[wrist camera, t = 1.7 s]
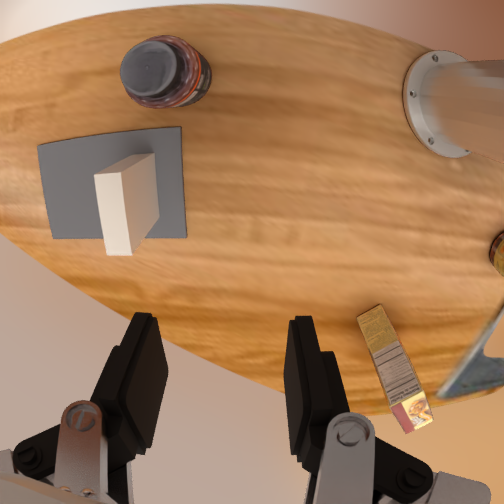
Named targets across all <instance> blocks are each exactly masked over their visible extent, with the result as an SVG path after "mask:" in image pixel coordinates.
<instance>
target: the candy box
mask: <svg viewBox="0 0 504 504" xmlns="http://www.w3.org/2000/svg"><path fill="white" fill-rule="evenodd" d="M357 321H358V323H359V326H360V328H361V331H362V334H363V336H364V339H365V342H366V344H367V347H368V350H369V352H370V355H371V358H372V361H373V363H374V366H375V369H376V371H377V374H378V377H379V380H380V383H381V386H382V388H383V391H384V394H385V397H386V400H387V403H388V406H389V408H390V410H391V411H392V413H393V415H394V416H395V417H396V419H397V421H398V422H399V424H400V425H401V427H402V428H403V430H404V432H405V434H407V433H409V432H412V431H414V430H416V429H418V428H420V427H422V426H424V425H426V424H427V423H430V422H431V421H433V420H434V419H433V415H432V412H431V409H430V406H429V403H428V401H427V398H426V395H425V393H424V390H423V388H422V386H421V383H420V381H419V379H418V376H417V374H416V372H415V370H414V368H413V366H412V363H411V361H410V359H409V357H408V355H407V353H406V351H405V349H404V347H403V345H402V343H401V341H400V339H399V337H398V335H397V333H396V331H395V329H394V327H393V326H392V324H391V322H390V320H389V318H388V316H387V314H386V312H385V310H384V309H383V307H382V305H381V304H380V305H378V306H376V307H375V308H373V309H371V310H369V311H367V312H366V313H364V314H362V315H360V316H358V317H357Z"/></svg>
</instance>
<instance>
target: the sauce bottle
mask: <svg viewBox="0 0 504 504" xmlns="http://www.w3.org/2000/svg"><path fill="white" fill-rule="evenodd" d="M490 259H491V262H492V264H493V266H494V267H495V269H496V270H497V271H498V272H499V273H500V274H501V275H502V276H503V277H504V232H503V233H502V234H501V235H499V237H498V238H497V239H496V240H495V241H494V243H493V245H492V249H491V252H490Z"/></svg>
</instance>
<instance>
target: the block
mask: <svg viewBox="0 0 504 504" xmlns="http://www.w3.org/2000/svg"><path fill="white" fill-rule="evenodd" d="M94 179H95V187H96V194H97V201H98V208H99V214H100V220H101V226H102V232H103V237H104V242H105V247H106V252H107V255H131V256H132V255H133V254H134V252H135V251H136V249H137V248H138V246H139V245H140V244H141V242H142V241H143V239H144V238H145V237H146V235H147V234H148V232H149V231H150V230H151V228H152V227H153V225H154V224H155V223H156V221H157V220H158V219H159V217H160V215H159V205H158V194H157V182H156V169H155V153H146V154H134V155H131V156H129V157H127V158H125V159H123V160H121V161H119V162H117V163H115V164H113V165H111V166H109V167H107V168H105V169H104V170H102V171H100V172H98V173H96V174H94Z"/></svg>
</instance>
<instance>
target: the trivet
mask: <svg viewBox="0 0 504 504" xmlns="http://www.w3.org/2000/svg"><path fill="white" fill-rule="evenodd" d="M37 150H38V158H39V166H40V173H41V180H42V186H43V192H44V198H45V204H46V209H47V214H48V219H49V223H50V228H51V232H52V236H53V239H103V238H104V237H103V232H102V226H101V220H100V214H99V208H98V201H97V194H96V187H95V179H94V174H96V173H98V172H100V171H102V170H104V169H105V168H107V167H109V166H111V165H113V164H115V163H117V162H119V161H121V160H123V159H125V158H127V157H129V156H131V155H134V154H146V153H155V169H156V182H157V194H158V205H159V215H160V217H159V219H158V220H157V221H156V223H155V224H154V225H153V227H152V228H151V230H150V231H149V232H148V234H147V235H146V237H145V238H187V227H186V214H185V199H184V182H183V162H182V135H181V127H169V128H156V129H145V130H134V131H125V132H117V133H109V134H101V135H94V136H87V137H81V138H75V139H69V140H63V141H58V142H53V143H48V144H43V145H38V146H37Z"/></svg>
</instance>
